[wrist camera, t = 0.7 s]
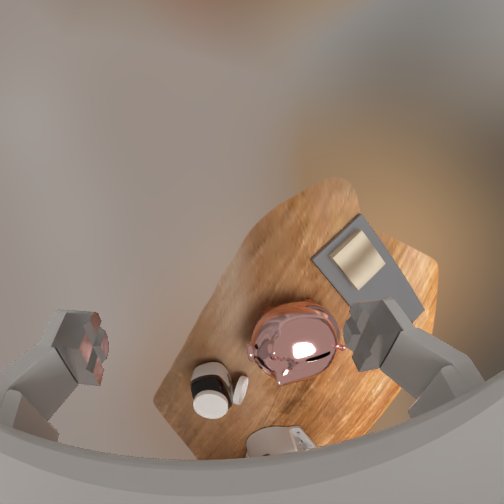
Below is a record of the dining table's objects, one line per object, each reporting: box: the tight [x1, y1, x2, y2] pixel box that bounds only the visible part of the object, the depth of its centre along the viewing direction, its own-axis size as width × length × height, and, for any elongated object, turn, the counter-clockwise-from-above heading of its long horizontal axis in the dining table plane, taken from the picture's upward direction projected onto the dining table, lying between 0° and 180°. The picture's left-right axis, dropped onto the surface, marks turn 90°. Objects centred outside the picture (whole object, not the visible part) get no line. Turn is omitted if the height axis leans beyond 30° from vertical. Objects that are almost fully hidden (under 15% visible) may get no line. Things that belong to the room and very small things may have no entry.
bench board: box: [311, 214, 425, 322], centre depth 58 cm, size 30×14×2 cm, turn 42°
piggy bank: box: [246, 299, 347, 386], centre depth 51 cm, size 15×18×16 cm
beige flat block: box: [328, 229, 386, 290], centre depth 54 cm, size 9×8×3 cm
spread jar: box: [191, 362, 248, 419], centre depth 55 cm, size 12×11×12 cm
